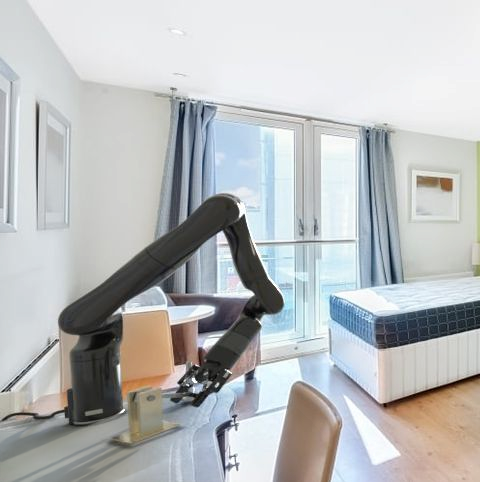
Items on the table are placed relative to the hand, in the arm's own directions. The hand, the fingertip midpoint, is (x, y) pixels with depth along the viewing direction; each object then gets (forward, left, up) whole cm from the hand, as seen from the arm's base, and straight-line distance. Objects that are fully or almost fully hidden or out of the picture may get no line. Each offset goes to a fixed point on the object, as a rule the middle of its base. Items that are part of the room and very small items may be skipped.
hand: (183, 404), depth 115 cm
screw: (-5, +13, -5) cm, 15 cm away
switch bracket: (-4, -7, -5) cm, 9 cm away
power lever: (-2, -3, +3) cm, 5 cm away
